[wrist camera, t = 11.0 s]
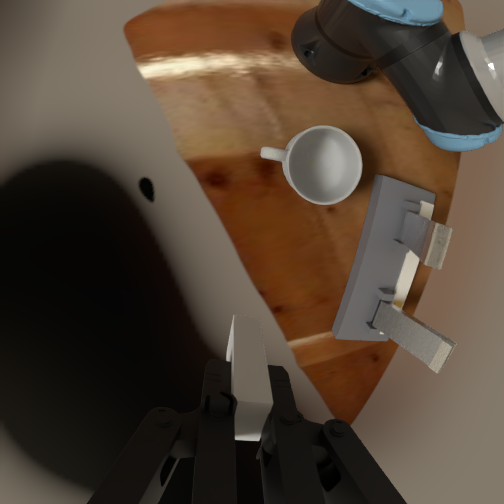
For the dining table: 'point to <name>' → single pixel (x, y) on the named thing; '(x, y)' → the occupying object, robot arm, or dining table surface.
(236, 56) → the dining table surface
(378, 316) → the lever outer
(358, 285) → the grey stand base
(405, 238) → the lever inner
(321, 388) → the dining table surface
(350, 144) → the teacup
